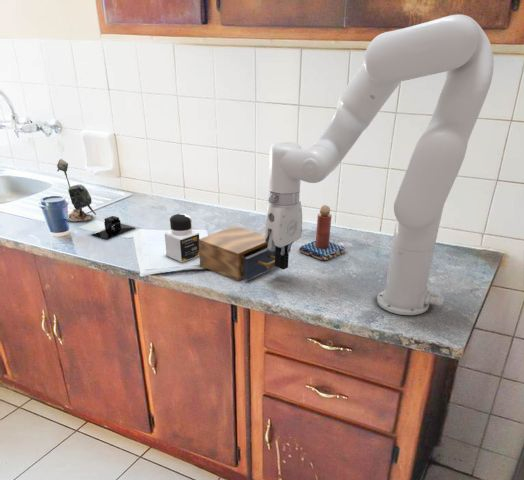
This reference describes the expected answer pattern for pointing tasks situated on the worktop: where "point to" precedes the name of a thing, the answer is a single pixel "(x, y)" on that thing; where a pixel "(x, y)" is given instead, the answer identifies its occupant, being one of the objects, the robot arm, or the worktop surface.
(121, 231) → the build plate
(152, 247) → the worktop surface
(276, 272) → the worktop surface
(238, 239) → the cabinet
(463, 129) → the robot arm
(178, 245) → the medicine bottle
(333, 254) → the woven mat
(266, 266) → the drawer
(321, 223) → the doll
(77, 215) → the bird figurine
